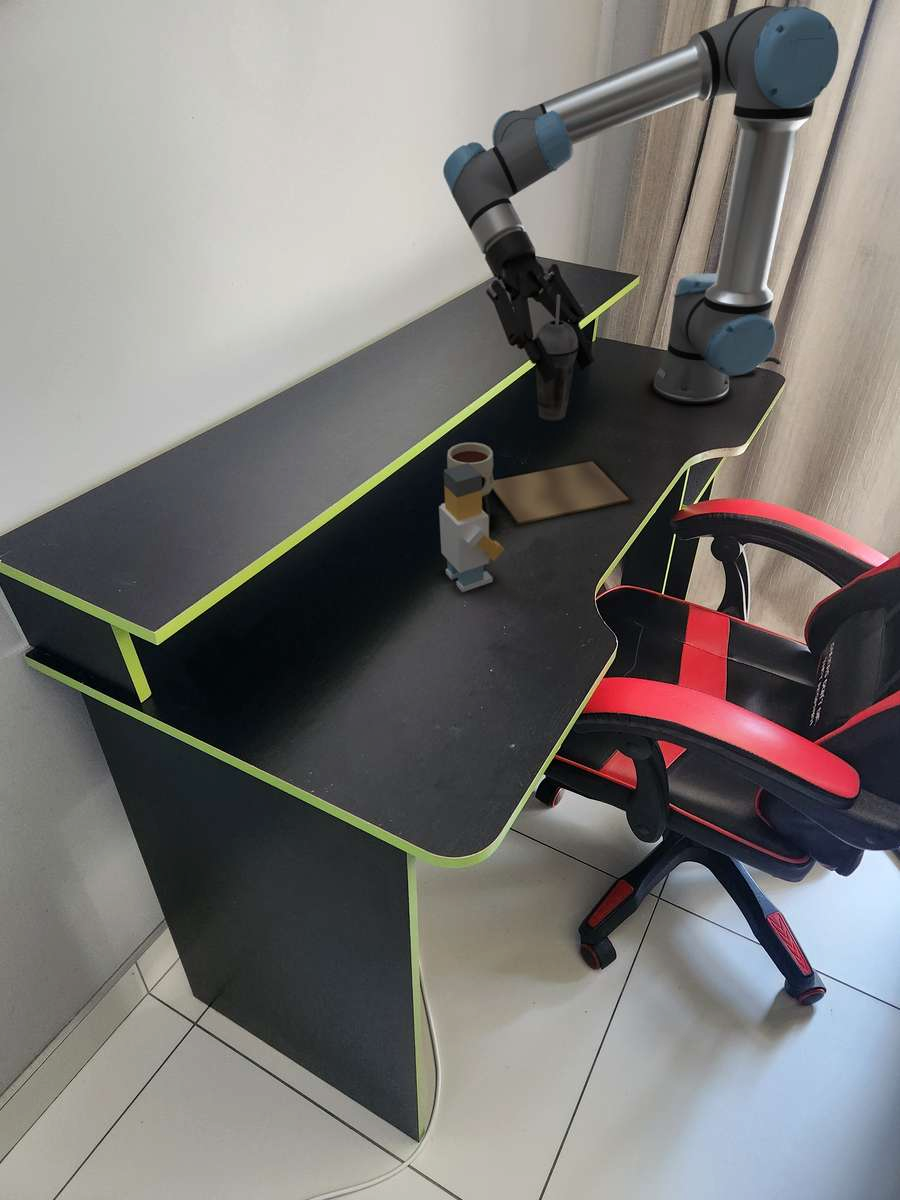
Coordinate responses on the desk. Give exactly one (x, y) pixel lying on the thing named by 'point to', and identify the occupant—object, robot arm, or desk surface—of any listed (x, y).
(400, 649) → the desk surface
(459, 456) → the character mug
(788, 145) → the robot arm
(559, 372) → the beverage cup
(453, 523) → the character figure
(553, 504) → the cork mat
